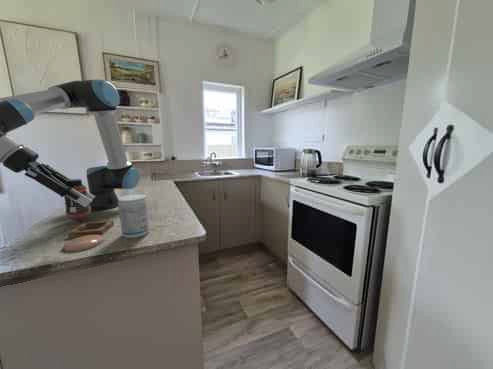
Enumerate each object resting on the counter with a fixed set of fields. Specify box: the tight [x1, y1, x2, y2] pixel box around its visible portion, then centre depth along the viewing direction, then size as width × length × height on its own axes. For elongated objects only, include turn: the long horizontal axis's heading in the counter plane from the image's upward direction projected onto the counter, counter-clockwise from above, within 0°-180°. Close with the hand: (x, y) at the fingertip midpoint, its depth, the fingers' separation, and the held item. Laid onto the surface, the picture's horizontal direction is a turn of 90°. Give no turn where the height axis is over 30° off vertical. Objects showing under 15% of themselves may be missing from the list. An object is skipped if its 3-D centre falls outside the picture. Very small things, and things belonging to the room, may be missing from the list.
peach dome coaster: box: [63, 235, 105, 253], centre depth 73 cm, size 11×11×1 cm
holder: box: [67, 220, 115, 239], centre depth 84 cm, size 11×11×2 cm
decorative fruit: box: [65, 205, 92, 222], centre depth 95 cm, size 9×8×10 cm
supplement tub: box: [117, 194, 150, 239], centre depth 80 cm, size 10×10×15 cm
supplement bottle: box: [64, 178, 89, 215], centre depth 69 cm, size 6×6×11 cm
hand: (90, 201), depth 71 cm, fingers closed on supplement bottle, 6 cm apart
